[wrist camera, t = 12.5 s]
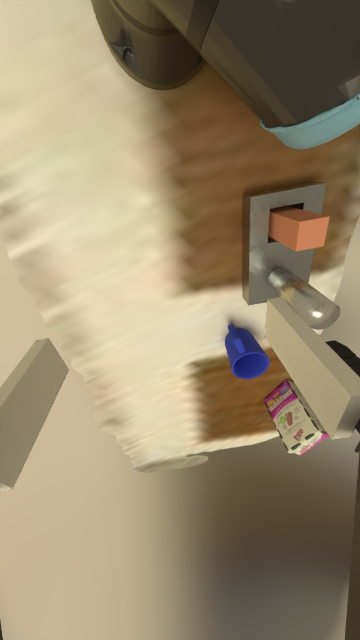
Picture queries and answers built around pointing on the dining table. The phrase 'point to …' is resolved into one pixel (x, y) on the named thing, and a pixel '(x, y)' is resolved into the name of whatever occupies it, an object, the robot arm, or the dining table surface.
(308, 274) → the gray socket post base
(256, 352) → the mug
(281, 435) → the candy bar box
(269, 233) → the orange rectangular block
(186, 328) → the dining table surface
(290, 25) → the robot arm
